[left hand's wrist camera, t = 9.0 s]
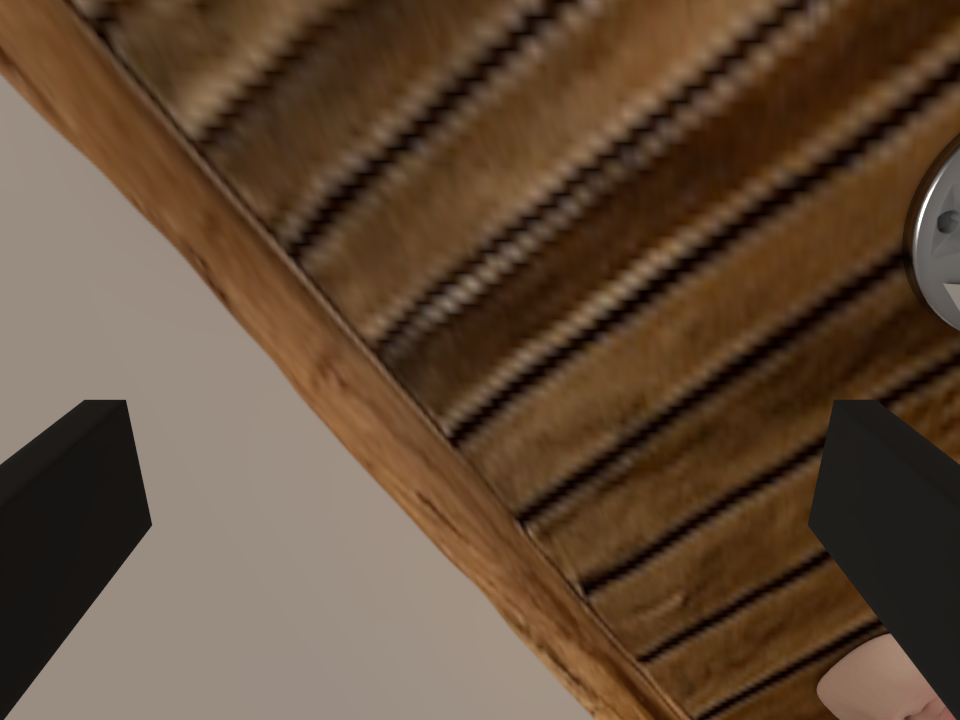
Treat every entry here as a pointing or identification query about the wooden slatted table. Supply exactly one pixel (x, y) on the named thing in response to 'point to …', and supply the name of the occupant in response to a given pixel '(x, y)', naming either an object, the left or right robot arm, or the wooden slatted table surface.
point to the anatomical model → (880, 686)
